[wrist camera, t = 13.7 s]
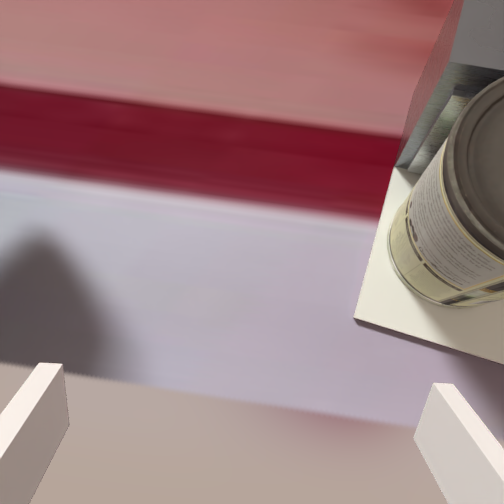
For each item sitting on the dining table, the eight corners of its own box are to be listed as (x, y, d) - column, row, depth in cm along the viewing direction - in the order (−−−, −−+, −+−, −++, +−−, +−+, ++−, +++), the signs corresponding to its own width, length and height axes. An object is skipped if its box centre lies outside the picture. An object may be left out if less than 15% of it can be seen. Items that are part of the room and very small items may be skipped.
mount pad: (353, 317, 30) (354, 317, 29) (393, 169, 32) (394, 166, 32) (513, 367, 28) (517, 368, 27) (542, 203, 30) (547, 200, 29)
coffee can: (446, 162, 31) (553, 23, 18) (551, 247, 29) (773, 161, 15) (357, 242, 31) (399, 162, 17) (457, 337, 28) (599, 332, 14)
